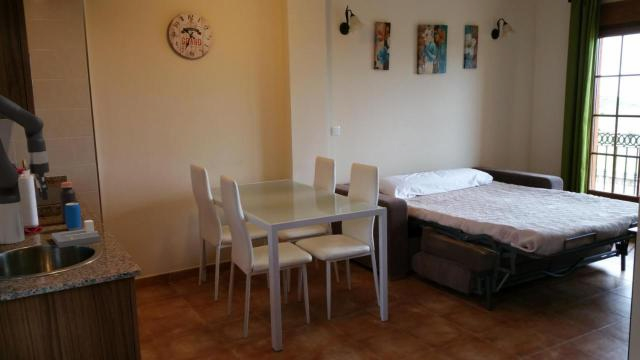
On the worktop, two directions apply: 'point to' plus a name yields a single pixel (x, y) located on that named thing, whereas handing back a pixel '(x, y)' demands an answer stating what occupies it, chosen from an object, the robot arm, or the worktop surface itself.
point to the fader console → (75, 238)
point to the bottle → (66, 197)
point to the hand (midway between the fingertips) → (43, 198)
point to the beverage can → (73, 216)
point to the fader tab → (89, 226)
